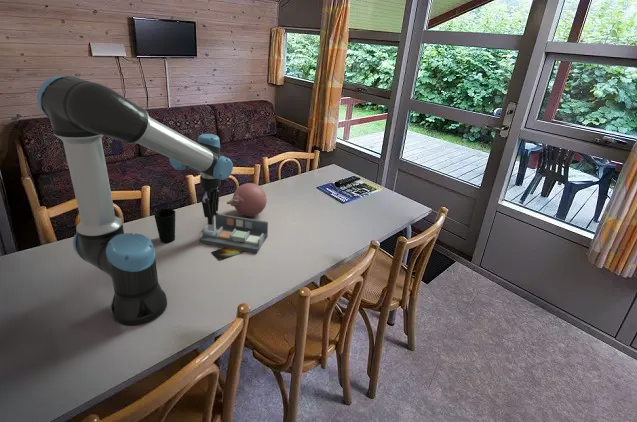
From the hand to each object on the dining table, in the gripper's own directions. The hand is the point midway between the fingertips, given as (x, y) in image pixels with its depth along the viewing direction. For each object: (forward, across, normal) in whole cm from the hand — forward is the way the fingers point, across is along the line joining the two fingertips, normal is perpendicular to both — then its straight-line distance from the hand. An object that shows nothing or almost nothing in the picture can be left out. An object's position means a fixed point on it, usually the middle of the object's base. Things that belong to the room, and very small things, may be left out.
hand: (211, 229), depth 147 cm
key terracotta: (+3, 0, -6) cm, 7 cm away
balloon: (+4, +24, -6) cm, 25 cm away
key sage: (+2, 0, -12) cm, 12 cm away
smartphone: (+5, -6, -11) cm, 13 cm away
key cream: (+3, 0, -18) cm, 18 cm away
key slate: (+3, 0, 0) cm, 3 cm away
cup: (+4, -6, +16) cm, 18 cm away
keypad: (+4, +2, -9) cm, 10 cm away
